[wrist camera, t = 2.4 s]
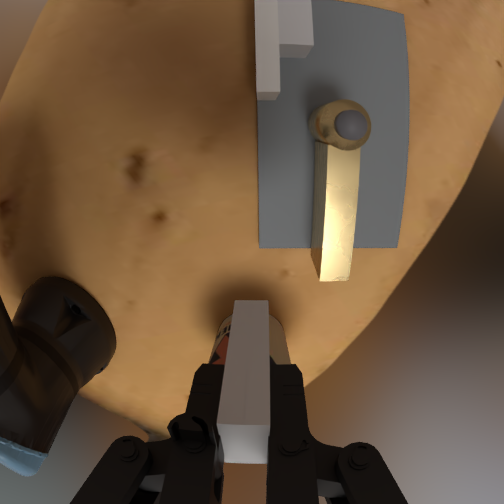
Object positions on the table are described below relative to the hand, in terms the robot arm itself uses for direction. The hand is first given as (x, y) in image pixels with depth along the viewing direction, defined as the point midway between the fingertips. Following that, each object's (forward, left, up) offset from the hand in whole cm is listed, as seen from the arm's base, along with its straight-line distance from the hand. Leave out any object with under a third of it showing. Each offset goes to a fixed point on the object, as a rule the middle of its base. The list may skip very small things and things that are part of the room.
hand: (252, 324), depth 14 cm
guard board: (+7, +9, -16) cm, 20 cm away
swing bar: (+6, +4, -14) cm, 16 cm away
